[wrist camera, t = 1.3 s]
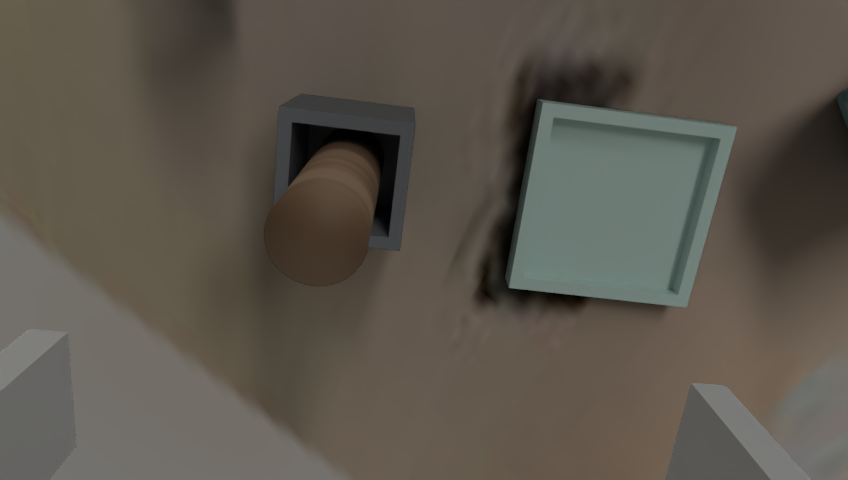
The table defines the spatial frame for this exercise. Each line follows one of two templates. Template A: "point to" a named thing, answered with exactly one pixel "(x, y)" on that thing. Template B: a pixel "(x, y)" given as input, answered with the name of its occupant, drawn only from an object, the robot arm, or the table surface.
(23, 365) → the robot arm
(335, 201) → the dowel
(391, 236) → the pen cup
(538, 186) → the tray
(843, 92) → the flower pot
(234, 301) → the table surface
